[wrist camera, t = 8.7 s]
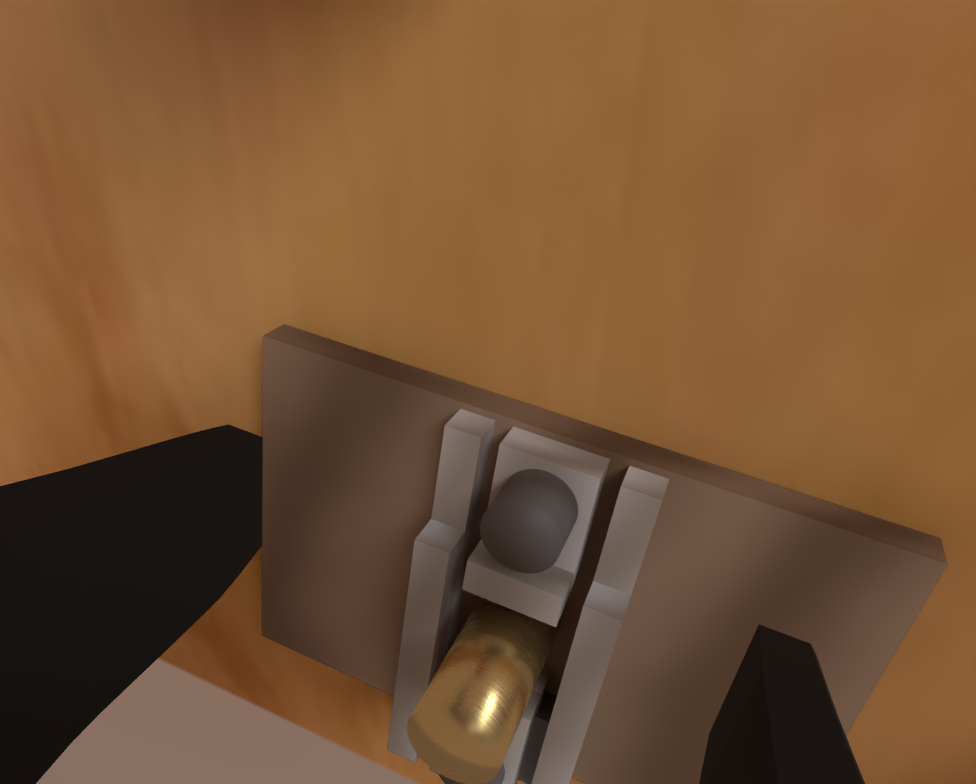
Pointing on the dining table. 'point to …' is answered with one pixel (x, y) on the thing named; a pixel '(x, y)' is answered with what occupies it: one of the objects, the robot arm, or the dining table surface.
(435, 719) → the brass pin
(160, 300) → the dining table surface
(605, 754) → the grey mounting plate
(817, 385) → the dining table surface
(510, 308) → the dining table surface
